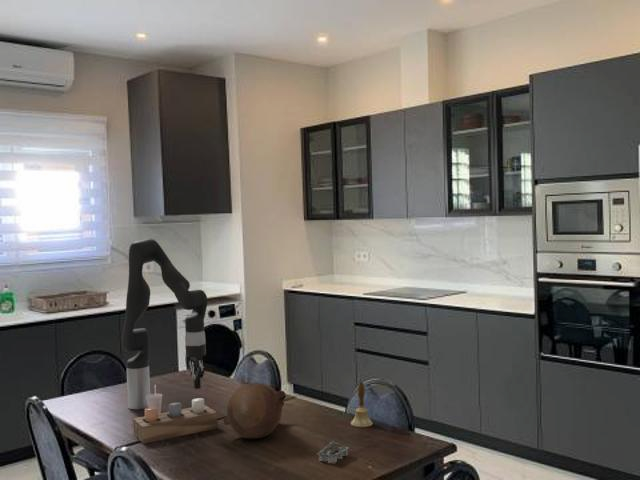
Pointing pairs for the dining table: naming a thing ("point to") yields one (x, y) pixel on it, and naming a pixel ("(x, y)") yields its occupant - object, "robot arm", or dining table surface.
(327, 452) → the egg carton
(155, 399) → the smoothie
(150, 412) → the brown egg
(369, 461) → the dining table surface
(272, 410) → the jug
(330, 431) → the dining table surface
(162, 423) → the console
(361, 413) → the hand bell
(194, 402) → the white egg
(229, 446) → the dining table surface
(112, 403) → the dining table surface
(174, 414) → the grey rounded cylinder
